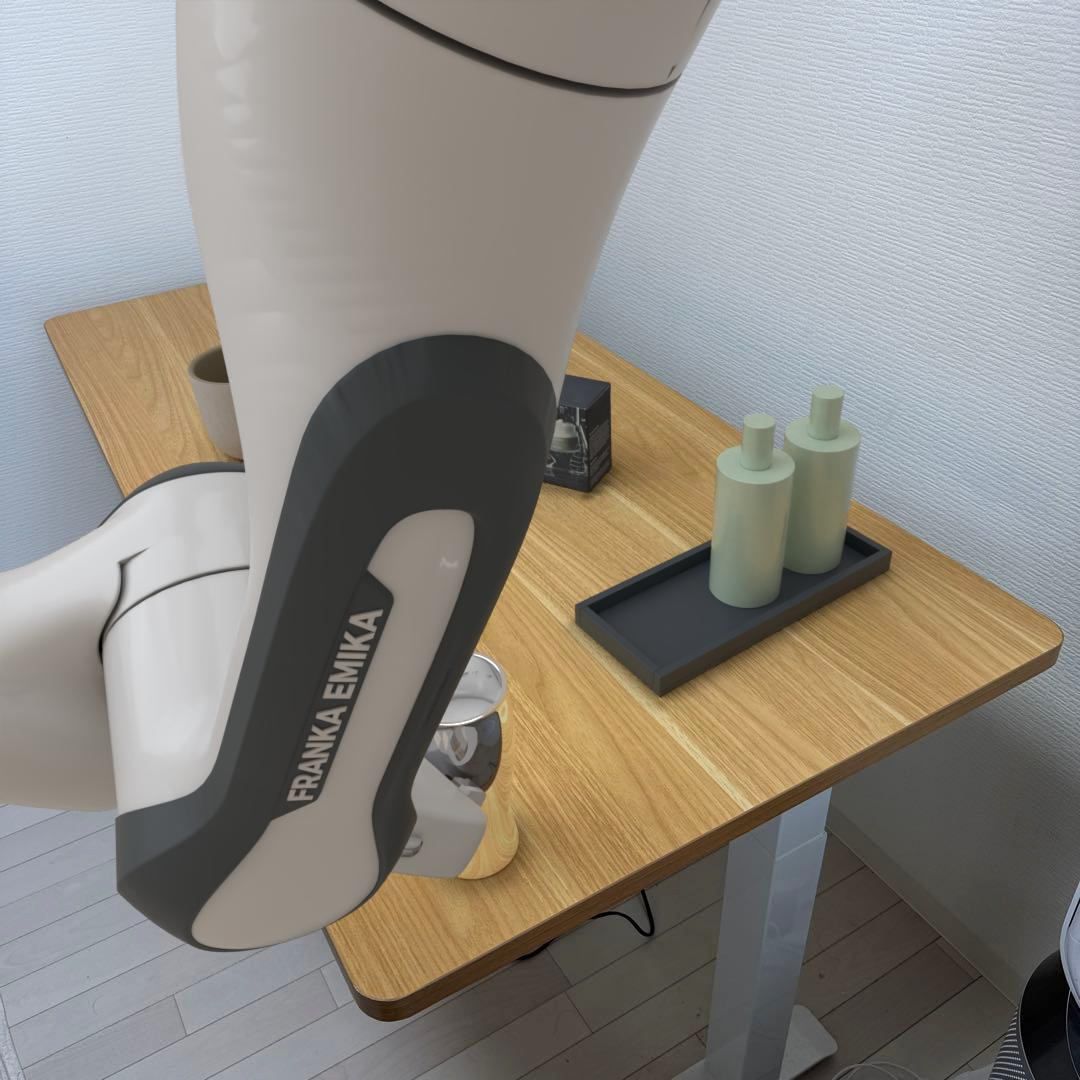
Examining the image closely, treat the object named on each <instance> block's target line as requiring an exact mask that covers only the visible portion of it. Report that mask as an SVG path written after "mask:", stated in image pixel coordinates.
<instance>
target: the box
mask: <svg viewBox="0 0 1080 1080" xmlns="http://www.w3.org/2000/svg"><path fill="white" fill-rule="evenodd" d="M612 453H613V452H612V383H611V382H609V381H604V380H600V379H599V380H598V379H594V378H588V377H582V376H579V375H574V374H573V375H572V374H567V373H566V374H565V378H564V382H563V386H562V390H561V394H560V398H559V402H558V406H557V418H556V425H555V432H554V436H553V440H552V444H551V448H550V452H549V457H548V461H547V465H546V470H545V474H544V478H543V483H547V484H552V485H556V486H560V487H563V488H568V489H571V490H577V491H580V492H584V493H590V492H591V491H592V490H593V489H594V488H595V486H596V485H597V484H599V482H600V481H601V480H602V479H603V478H604V476H605V475H607V472H609V471H610V469H611V468H612V467H613V457H612Z"/></svg>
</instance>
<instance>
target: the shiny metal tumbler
mask: <svg viewBox="0 0 1080 1080" xmlns="http://www.w3.org/2000/svg"><path fill="white" fill-rule="evenodd" d="M516 733H517V732H516V722H515V715H514V709H513V704H512V699H511V695H510V690H509V687H508V677H507V674H506V672H505V670H504V668H503V666H501V664H500V663H499V662H497V660H495V658H493V657H491V656H489V655H488V654H484V653H482V652H479V651H475V650H474V652H473V654H472V657H471V659H470V661H469V663H468V665H467V667H466V669H465V671H464V673H463V676H462V678H461V680H460V682H459V684H458V686H457V688H456V690H455V693H454V695H453V697H452V699H451V701H450V703H449V705H448V707H447V710H446V712H445V714H444V716H443V718H442V720H441V722H440V724H439V727H438V729H437V731H436V733H435V735H434V737H433V739H432V741H431V743H430V746H429V748H428V750H427V752H426V754H425V756H424V758H425V759H426V760H428V761H429V762H430V763H431V764H432V765H433V766H434V767H435V768H437V769H438V770H439V771H440V772H441V773H442V774H443V775H444V776H446V777H447V778H448V779H449V780H450V781H452V780H453V778H454V777H459V778H463V779H470V780H471V781H472V782H473V783H474V784H476V785H477V786H478V787H479V788H480V789H481V790H482V791H484V792H485V793H486V798H485V800H484V802H483V804H482V806H481V808H482V809H483V810H484V811H485V813H486V814H487V817H488V822H487V827H486V831H485V834H484V836H483V838H482V841H481V843H480V845H479V847H478V849H477V850H476V852H475V854H474V856H473V857H472V859H471V861H470V862H469V864H468V865H467V867H466V868H465V869H464V871H463V872H462V873H461V874H460V875H459V876H457V877H456V878H458V879H464V880H480V879H485V878H489V877H491V876H493V875H495V874H497V873H500V871H502V870H503V869H505V868H506V867H507V866H508V865H509V864H510V862H512V860H513V859H514V857H515V856H516V854H517V852H518V848H519V843H520V834H519V829H518V826H517V823H516V820H515V818H514V815H513V813H512V810H511V807H510V798H511V791H512V784H513V779H514V771H515V765H516V754H517V734H516Z"/></svg>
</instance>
